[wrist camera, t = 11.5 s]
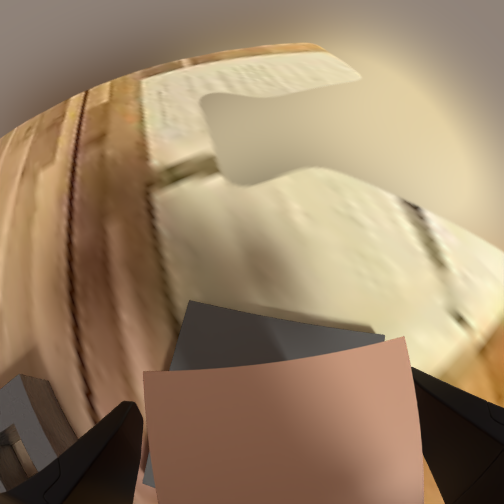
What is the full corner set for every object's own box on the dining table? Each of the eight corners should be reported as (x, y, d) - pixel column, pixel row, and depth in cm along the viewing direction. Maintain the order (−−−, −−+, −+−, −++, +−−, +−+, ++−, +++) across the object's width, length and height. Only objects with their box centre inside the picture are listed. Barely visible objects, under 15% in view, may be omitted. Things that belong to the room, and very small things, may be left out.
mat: (343, 514, 12) (347, 519, 11) (147, 479, 13) (142, 483, 12) (379, 338, 18) (384, 334, 17) (192, 304, 19) (189, 300, 18)
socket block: (124, 506, 12) (102, 520, 9) (46, 532, 9) (22, 540, 6) (48, 380, 16) (19, 373, 13) (-13, 426, 13) (-38, 423, 10)
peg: (309, 448, 14) (422, 540, 2) (234, 458, 13) (180, 581, 2) (299, 381, 16) (404, 335, 4) (225, 390, 16) (142, 371, 4)
